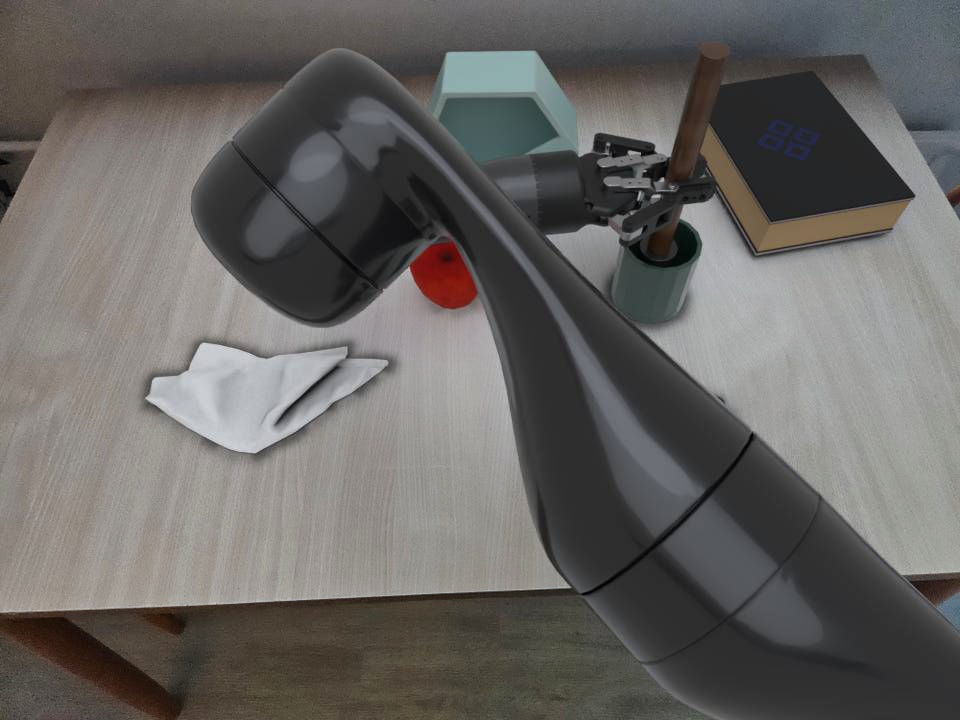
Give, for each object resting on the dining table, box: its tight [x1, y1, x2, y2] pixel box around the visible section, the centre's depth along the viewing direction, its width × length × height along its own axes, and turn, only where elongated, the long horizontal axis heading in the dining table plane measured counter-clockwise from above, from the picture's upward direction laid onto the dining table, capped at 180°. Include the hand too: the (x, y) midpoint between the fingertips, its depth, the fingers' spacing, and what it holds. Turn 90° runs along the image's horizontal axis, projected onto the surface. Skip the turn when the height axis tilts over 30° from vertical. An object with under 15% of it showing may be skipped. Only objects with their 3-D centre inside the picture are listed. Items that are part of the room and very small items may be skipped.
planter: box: [426, 50, 580, 162], centre depth 78 cm, size 17×8×21 cm
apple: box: [408, 243, 479, 310], centre depth 73 cm, size 9×9×8 cm
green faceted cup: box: [610, 218, 703, 324], centre depth 71 cm, size 8×8×9 cm
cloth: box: [144, 342, 390, 454], centre depth 69 cm, size 26×14×2 cm, turn 85°
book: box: [699, 70, 917, 257], centre depth 82 cm, size 17×25×7 cm
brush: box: [636, 40, 732, 268], centre depth 61 cm, size 4×4×28 cm
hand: (708, 176), depth 61 cm, fingers closed on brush, 2 cm apart
